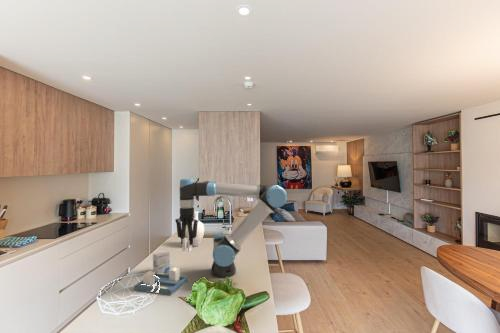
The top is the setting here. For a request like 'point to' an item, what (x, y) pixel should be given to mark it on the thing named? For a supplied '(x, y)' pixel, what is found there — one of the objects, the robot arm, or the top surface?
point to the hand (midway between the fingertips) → (187, 250)
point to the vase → (199, 231)
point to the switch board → (163, 284)
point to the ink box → (161, 262)
